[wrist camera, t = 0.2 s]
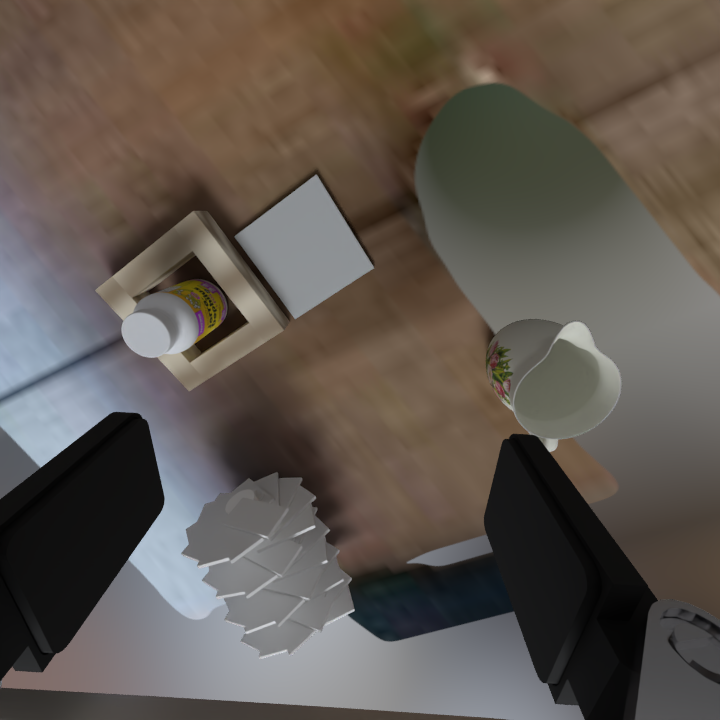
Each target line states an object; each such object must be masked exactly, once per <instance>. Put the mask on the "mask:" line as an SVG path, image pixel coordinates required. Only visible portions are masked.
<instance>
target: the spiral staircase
mask: <svg viewBox="0 0 720 720" xmlns="http://www.w3.org/2000/svg"><path fill="white" fill-rule="evenodd" d="M302 480H303V479H302V477H298V478H279V477H278V473H277V472H276V473H273V474H271V475H269V476H266V477H264V478H261V479H259V480H257V481H254V482H253V481H252V480H251V479H250V478H248V479H247V480H246V481H245V482H243V483H242V484H241V485H240V486H238V487H237V488H236V489H235V490H233V491H232V492H231V493H220V494H219V496H218V497H217V498H216V500H215V501H214V502H210V503H207V504H205V505H204V507H203V510H202V512H201V514H200V517H199V519H198V521H197V522H196V523H195V524H193V525H192V526H190V527H189V528H187V529H186V532H187V537H188V542H189V545H188V546H187V547H186V548H185V550H184V551H183V552H182V553H181V554H182V555H183V556H185V557H187V558H190V559H192V560H195V561H197V562H199V563H198V565H197V567H198V568H199V569H200V568H204V567H208V566H209V572H208V574H207V575H206V576H205V577H204V578H203V579H202V581H203V582H204V583H205V584H207V585H209V586H210V587H212V588H213V589H215V590H217V591H218V592H217V595H216V598H217V599H221V598H224V600H225V602H226V604H227V606H228V609H229V612H228V614H227V616H226V617H225V619H224V620H225V621H226V622H228V623H232V624H235V625H238V626H242V627H244V629H245V634H244V636H243V638H242V639H241V642H242V643H243V644H245V645H247V646H249V647H251V648H253V649H255V650H257V651H260V653H259V658H260V659H262V658H265V657H269V656H273V655H276V654H280V653H283V652H287V651H288V653H289V655H290V656H292V655H293V654H294V653H295V652H296V651H297V650H298V649H299V648H300V647H301V646H302V645H303V644H304V643H305V642H306V641H307V640H308V639H309V638H311V637H312V635H314V634H315V633H316V631H318V632H321V631H322V629H323V627H324V626H326V625H328V624H330V623H332V622H334V621H335V620H337V619H339V618H341V617H343V616H345V615H347V614H349V613H351V612H353V611H355V610H354V606H353V602H352V598H351V594H350V590H349V586H348V584H349V582H350V581H351V580H352V579H351V577H350V576H348V575H347V574H346V573H345V572H344V571H342V570H341V569H340V568H339V565H338V562H337V558H336V556H337V554H338V553H339V552H340V551H339V549H337V548H335V547H334V546H332V545H331V544H329V543H327V542H326V537H325V535H326V534H327V533H328V532H329V531H330V530H329V528H328V527H327V526H326V525H325V524H324V523H323V522H322V521H321V520H320V519H319V518H317V517H316V516H315V514H316V512H317V510H318V509H317V507H312V504H311V503H312V502H313V501H314V500H315V499H316V496H315V495H313V494H312V493H311V492H309V491H308V490H306V489H305V488H303V487H302V486H300V484H301V482H302Z"/></svg>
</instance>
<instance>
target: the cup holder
mask: <svg viewBox="0 0 720 720" xmlns="http://www.w3.org/2000/svg"><path fill="white" fill-rule="evenodd" d="M194 256H197V257H198V259H199V260H200V261H201V262H202V264H203V265H204V266H205V267H206V269H207V270H208V271H209V272H210V274H211V275H212V276H213V278H214V279H215V280H216V281H217V283H218V284H219V285H220V286H221V288H222V289H223V290H224V291H225V293H226V294H227V295H228V296H229V298H230V299H231V300H232V302H233V303H234V304H235V305H236V307H237V308H238V309H239V310H240V312H241V313H242V314H243V315H244V317H245V318H246V319H247V320H248V322H247V323H245V324H244V325H242V326H241V327H239V328H238V329H236V330H235V331H233V332H232V333H230V334H229V335H227V336H226V337H224V338H223V339H221V340H220V341H218V342H217V343H215V344H214V345H212V346H211V347H209V348H208V349H206V350H205V351H203V352H201V351H200V350H199V349H198V348H197V347H196V345H195V344H194V345H193V346H191V347H190V348H188V349H187V350H185V351H183V352H180V353H177V354H163V355H161V356H159V357H158V358H159V360H160V361H161V362H162V363H163V364H164V365H165V366H166V367H167V368H168V369H169V370H170V371H171V372H172V374H173V375H174V376H175V377H176V378H177V379H178V380H179V381H180V382H181V383H182V384H183V385H184V386H185V388H186V389H187V390H188V391H190V390H192V389H194V388H195V387H197V386H198V385H200V384H201V383H203V382H204V381H206V380H207V379H209V378H211V377H212V376H214V375H215V374H217V373H218V372H220V371H221V370H223V369H225V368H226V367H228V366H229V365H231V364H232V363H234V362H235V361H237V360H239V359H240V358H242V357H243V356H245V355H246V354H248V353H249V352H251V351H252V350H254V349H256V348H257V347H259V346H260V345H262V344H263V343H265V342H266V341H268V340H270V339H271V338H273V337H274V336H276V335H277V334H279V333H280V332H282V331H283V330H284V329H285V328H286V327H287V325H288V324H289V322H290V321H289V320H288V318H287V317H286V316H285V314H284V313H283V312H282V310H281V309H280V308H279V306H278V305H277V304H276V302H275V301H274V300H273V298H272V297H271V296H270V294H269V293H268V292H267V290H266V289H265V288H264V286H263V285H262V284H261V282H260V281H259V280H258V278H257V277H256V275H255V274H254V273H253V271H252V270H251V269H250V267H249V266H248V265H247V263H246V262H245V261H244V259H243V258H242V257H241V255H240V254H239V253H238V251H237V250H236V249H235V247H234V246H233V245H232V243H231V242H230V241H229V239H228V238H227V237H226V235H225V234H224V233H223V231H222V230H221V229H220V227H219V226H218V225H217V223H216V222H215V220H214V219H213V218H212V216H211V215H210V214H209V212H208V211H193V212H191V213H190V214H189V215H188V216H187V217H185V218H184V219H183V220H182V221H180V222H179V223H178V224H177V225H175V226H174V227H173V228H172V229H170V230H169V231H168V232H167V233H165V234H164V235H163V236H162V237H161V238H159V239H158V240H157V241H156V242H154V243H153V244H152V245H151V246H149V247H148V248H147V249H146V250H144V251H143V252H142V253H141V254H140V255H138V256H137V257H136V258H135V259H133V260H132V261H131V262H130V263H128V264H127V265H126V266H125V267H123V268H122V269H121V270H120V271H118V272H117V273H116V274H115V275H114V276H112V277H111V278H110V279H109V280H107V281H106V282H105V283H104V284H102V285H101V286H100V287H99V288H97V289H96V290H95V291H96V292H97V293H98V294H99V295H100V296H101V297H102V298H103V299H104V300H105V301H106V302H107V304H108V305H109V306H110V307H111V308H112V309H113V310H114V311H115V312H116V313H117V314H118V315H119V316H120V318H121V319H122V320H123V321H124V320H125V318H126V317H127V316H128V315H130V314H132V313H133V311H134V309H135V307H136V305H137V304H138V302H139V301H140V300H141V299H143V298H144V297H146V296H148V295H151V294H150V293H149V291H150V290H151V289H152V288H154V287H155V286H156V285H158V284H159V283H160V282H162V281H163V280H164V279H166V278H167V277H168V276H169V275H171V274H172V273H173V272H175V271H176V270H177V269H179V268H180V267H181V266H183V265H184V264H185V263H186V262H188V261H189V260H190V259H192V258H193V257H194Z"/></svg>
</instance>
